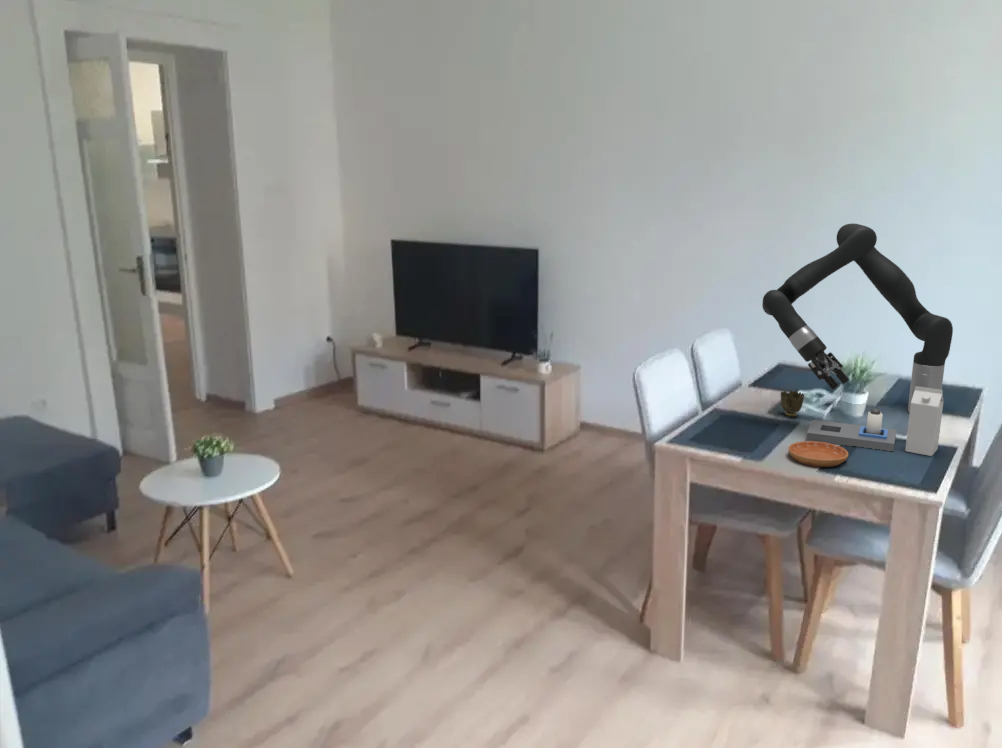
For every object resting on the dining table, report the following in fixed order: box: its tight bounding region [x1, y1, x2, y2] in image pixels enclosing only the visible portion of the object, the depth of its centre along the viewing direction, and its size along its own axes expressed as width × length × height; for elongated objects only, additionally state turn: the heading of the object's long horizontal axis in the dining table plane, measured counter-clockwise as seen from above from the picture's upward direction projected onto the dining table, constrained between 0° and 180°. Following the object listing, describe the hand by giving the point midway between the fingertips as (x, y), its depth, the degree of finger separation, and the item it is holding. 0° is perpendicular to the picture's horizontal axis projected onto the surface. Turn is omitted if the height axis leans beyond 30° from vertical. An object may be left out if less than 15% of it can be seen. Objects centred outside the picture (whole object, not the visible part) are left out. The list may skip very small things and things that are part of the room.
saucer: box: [787, 440, 849, 468], centre depth 226 cm, size 16×16×3 cm
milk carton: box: [904, 386, 945, 457], centre depth 229 cm, size 7×7×19 cm
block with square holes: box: [805, 419, 897, 452], centre depth 242 cm, size 14×24×3 cm, turn 62°
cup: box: [780, 389, 805, 418], centre depth 264 cm, size 8×7×8 cm
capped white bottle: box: [866, 408, 884, 435], centre depth 238 cm, size 4×4×10 cm
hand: (841, 384), depth 242 cm, fingers open, 8 cm apart
